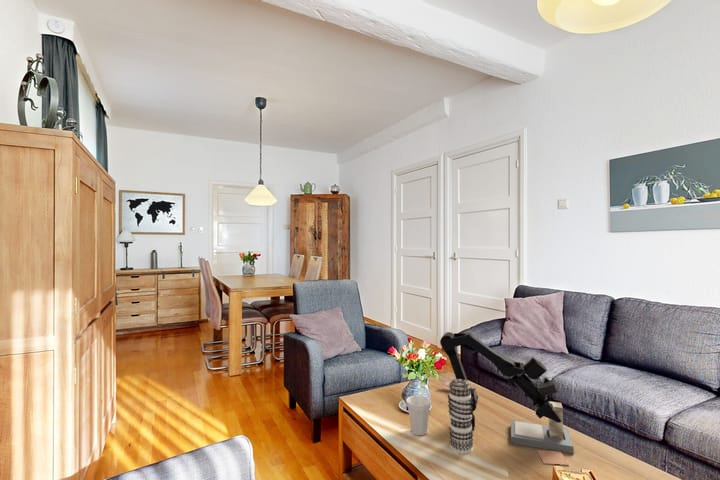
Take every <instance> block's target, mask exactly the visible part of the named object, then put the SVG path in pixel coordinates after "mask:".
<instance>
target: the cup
mask: <svg viewBox="0 0 720 480" xmlns="http://www.w3.org/2000/svg"><path fill="white" fill-rule="evenodd" d="M405 401H406V406H407V410H408V416H409V421H410V423H409V424H410V429H411V433H412V434H413V435H416V436H424V435H426V434H427V433H428V427H429V426H428V424H429V417H430V416H429V415H430V408H431V403H432V400H431V399H430V397H429V398H428V397H427V396H424V395H412V396H409V397H407V398H406V400H405Z"/></svg>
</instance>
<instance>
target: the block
mask: <svg viewBox="0 0 720 480" xmlns="http://www.w3.org/2000/svg"><path fill="white" fill-rule="evenodd" d="M551 403H552V405H553V410H554V412H555V413H556V414H557V416H558V417H559V418H560V420H561V422H560V423H558V422H556V421H554V420H551V419H549V418H548V425H549V435H550V436H549V437H550V438H556V439H563V428H564V412H563V411H564V409H563V405H562V402H557V401H551V402H550V404H551ZM563 440H564V439H563Z"/></svg>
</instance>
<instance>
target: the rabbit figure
mask: <svg viewBox="0 0 720 480" xmlns="http://www.w3.org/2000/svg"><path fill="white" fill-rule="evenodd" d="M449 383H450V382H448V381H444V382H442V383H440V384H441V386H446V387H448V388H449V389H450V386H449Z"/></svg>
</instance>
